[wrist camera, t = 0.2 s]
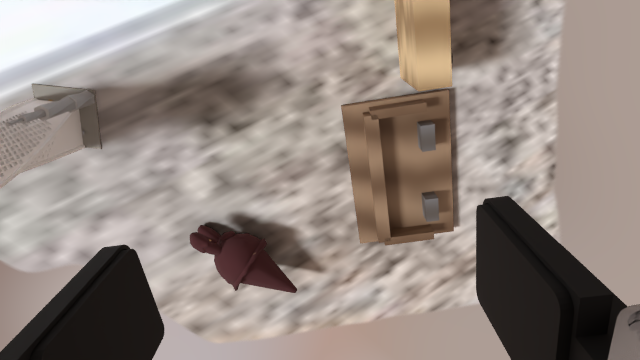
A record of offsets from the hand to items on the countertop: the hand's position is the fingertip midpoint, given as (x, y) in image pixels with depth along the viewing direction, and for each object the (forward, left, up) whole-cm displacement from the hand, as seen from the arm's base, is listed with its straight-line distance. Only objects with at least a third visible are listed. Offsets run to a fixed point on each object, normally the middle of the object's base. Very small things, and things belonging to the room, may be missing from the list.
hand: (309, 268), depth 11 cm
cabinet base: (+12, +8, -36) cm, 39 cm away
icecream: (+20, -13, -36) cm, 43 cm away
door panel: (-5, +10, -36) cm, 38 cm away
